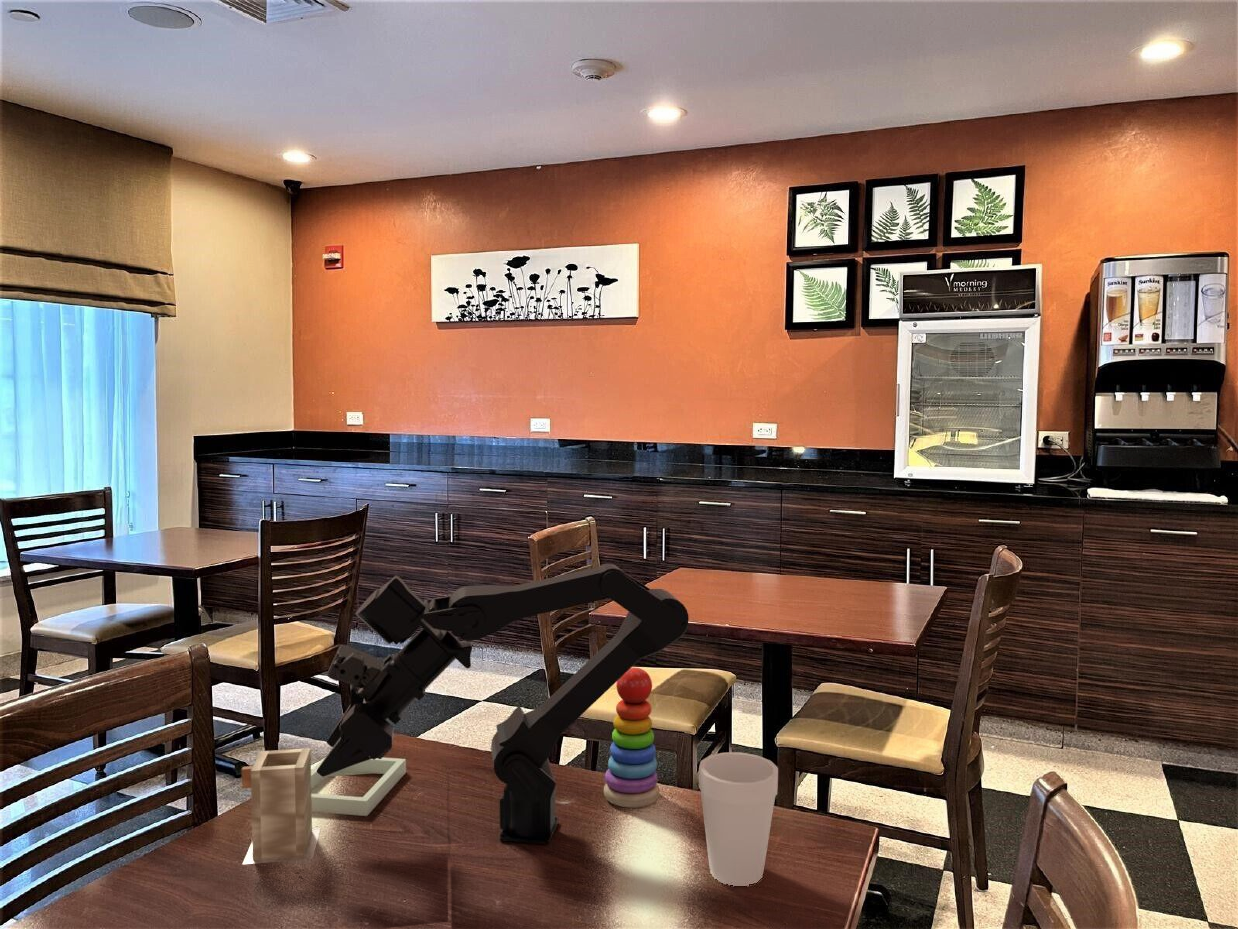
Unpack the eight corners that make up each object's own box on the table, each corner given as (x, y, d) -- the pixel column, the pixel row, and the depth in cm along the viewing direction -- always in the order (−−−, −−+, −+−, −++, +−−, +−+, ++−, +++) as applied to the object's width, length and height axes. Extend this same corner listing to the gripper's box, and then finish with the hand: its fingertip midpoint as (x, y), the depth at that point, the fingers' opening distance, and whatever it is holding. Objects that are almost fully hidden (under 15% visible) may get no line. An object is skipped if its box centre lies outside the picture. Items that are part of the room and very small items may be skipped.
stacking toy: (660, 811, 124) (661, 678, 122) (602, 810, 124) (603, 677, 122) (658, 786, 131) (660, 661, 130) (604, 785, 132) (605, 660, 130)
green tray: (406, 778, 133) (405, 759, 133) (366, 823, 119) (366, 801, 119) (329, 773, 135) (329, 754, 135) (282, 816, 121) (282, 794, 121)
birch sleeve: (312, 831, 115) (310, 748, 114) (305, 855, 109) (303, 767, 108) (249, 836, 113) (247, 752, 113) (238, 860, 108) (236, 772, 107)
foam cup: (725, 902, 102) (727, 791, 101) (682, 864, 110) (684, 761, 109) (792, 881, 106) (794, 775, 105) (746, 846, 114) (748, 747, 113)
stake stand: (321, 834, 116) (320, 801, 116) (312, 866, 108) (311, 830, 108) (256, 840, 115) (255, 806, 114) (242, 872, 107) (241, 836, 106)
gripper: (373, 607, 120) (288, 692, 119) (361, 645, 102) (260, 745, 101) (433, 662, 123) (350, 745, 121) (431, 709, 104) (333, 808, 103)
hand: (324, 758), depth 112 cm, fingers open, 9 cm apart
